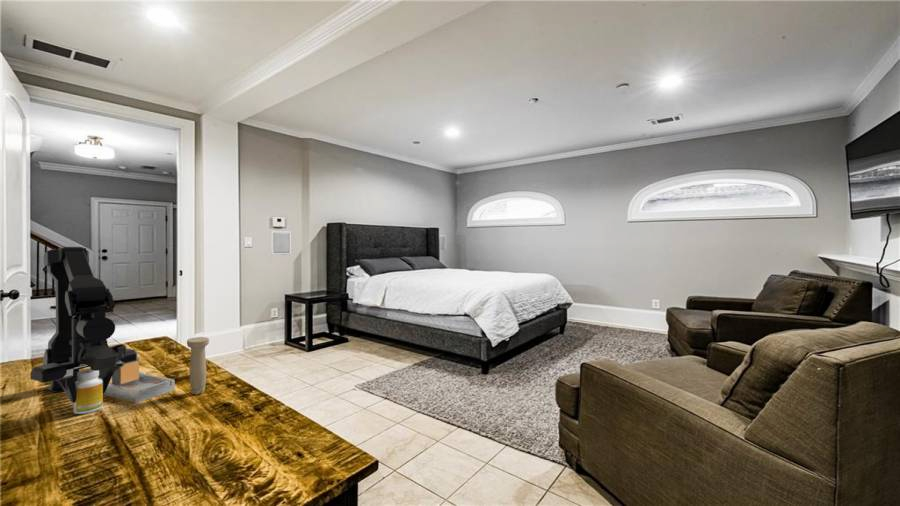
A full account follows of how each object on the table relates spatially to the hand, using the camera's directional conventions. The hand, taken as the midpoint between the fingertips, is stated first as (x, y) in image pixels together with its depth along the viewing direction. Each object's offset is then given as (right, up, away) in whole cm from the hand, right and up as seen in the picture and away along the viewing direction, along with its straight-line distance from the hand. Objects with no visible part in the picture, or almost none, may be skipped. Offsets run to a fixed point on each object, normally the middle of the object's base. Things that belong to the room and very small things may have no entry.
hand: (88, 397), depth 95 cm
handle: (+20, -3, +12) cm, 23 cm away
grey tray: (+3, -3, +12) cm, 13 cm away
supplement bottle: (0, -3, 0) cm, 3 cm away
